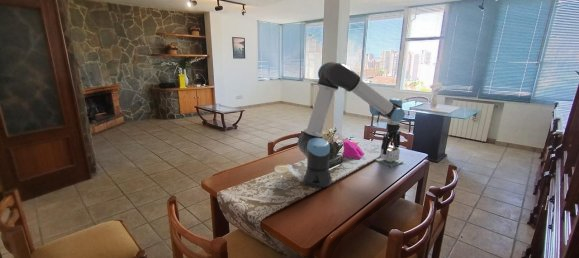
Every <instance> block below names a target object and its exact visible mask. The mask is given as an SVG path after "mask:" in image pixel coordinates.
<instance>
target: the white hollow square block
mask: <svg viewBox="0 0 579 258" xmlns="http://www.w3.org/2000/svg"><path fill="white" fill-rule="evenodd" d="M388 148H392V149H394V150H389V149H387V150H388V156H387V161H389V162H392V161H395V160H399V159H400V151H401V149H400V148H399V147H397V148H395V147H393V146H392V145H389V146H388ZM379 155H380V157H379V158H382V159H383V149H381V148H380V154H379ZM384 160H386V159H384Z"/></svg>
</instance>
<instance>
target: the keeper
mask: <svg viewBox="0 0 579 258" xmlns="http://www.w3.org/2000/svg"><path fill="white" fill-rule="evenodd" d="M388 149H389V150H394V149H392V148H388ZM374 161H375V162H377V163H380V164H382V165H384V166H386V167H389V168H393V167H396V166H400V165H402V164H404V161H402V160H399V159H398V160H395V161H392V162H389V161H387V160H384V159H382V158H380V157H378V158H376V159H375V160H374Z"/></svg>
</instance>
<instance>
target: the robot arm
mask: <svg viewBox="0 0 579 258" xmlns="http://www.w3.org/2000/svg"><path fill="white" fill-rule="evenodd" d="M317 77H318V82H317V86H318V90H317V94H316V98H315V101H314V105H313V108H312V110H311V115H310V117H309V121H308V125H307V127H306V128H305V129H304V130H303V132H302V134H301V135H300V136H299V137H298V140H297V146H298V149H299V150H300V152H301V153H303V155H304V156H305V157H307V158H306V159H307V160H306V161H307V162H306V164H307V168H306V170H305V173H304V176H303V184H305V185H306V184H307V185H306V186H308V185H309V186H308V187H310V186H312V187H311V188H314V187H322V188H321V189H324V188H327V187H329V186H330V185H331V184H332V176H331V171H330V151H331V146H330V143H329V141H328V140H326V139H325V138H324V135H323V132H322V131H323V128H324V126H325V123H326V119H327V116H328V113H329V110H330V106H331V103H332V100H333V97H334V94H335V92H336V91H338V90H339V88H342V89H343V90H345V91H346V92H348V93H349V92H352V93H353V94H354V95H356V96H357V97H358V98H360V99H361V100H363V101H364V102H365V103H367V104H368V105H370V107H369V110H370V115H372V116H374V117H375V116H376V117H378V116H380V117H383V118H385V119H386V130H387V131H386V133H383V134H382V135H383V138H382V142H381V147H380V150H381V149H383V159H386V160H387V156H388V150H387V149H388V146H390V144H391V141H392V143H393V144H392V145H393V146H392V147H395V148H400V146H401V131H400V126H401V125H400V123H401V121H403V120H404V118H405V116H406V111H405V110H404V109H403V100H402V99H401V98H398V97H397V98H395V97H393V98H390V99H389V100H388V99H387V98H386V97H384V96H383V95H381V93H380V92H378V91H376V90H375V89H374V88H372V87H371V85H368V84H367V83H366V82H365V81H363V80H362V79H361V76H360V75H359V74H358V73H356V72H355V71H354V70H352V68H350V67H348V66H347V65H346V64H344V63H340V62H332V61H330V62H325V63H324V64H322V65H321V66H320V67H319V69H318V71H317Z"/></svg>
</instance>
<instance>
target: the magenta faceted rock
mask: <svg viewBox="0 0 579 258" xmlns="http://www.w3.org/2000/svg"><path fill="white" fill-rule="evenodd" d="M342 147H343V152H342V157H345V156H346V158H351V157H352V159H356V158H358V159H357V160H361V159H362V157H363V156H364V155H365V152H363V150H362V149H361V147H360V146H358V144H357V143H356V142H354V141H351V140H349V139H345V140H344V141H343V145H342ZM361 155H362V156H361ZM360 158H361V159H360Z"/></svg>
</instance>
